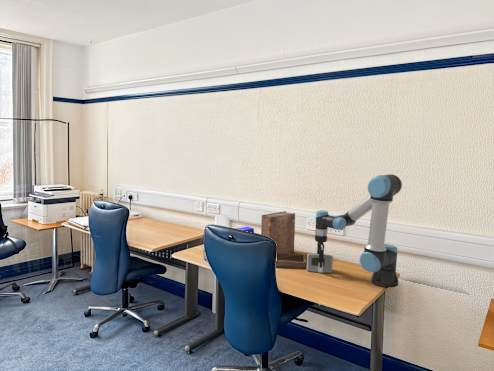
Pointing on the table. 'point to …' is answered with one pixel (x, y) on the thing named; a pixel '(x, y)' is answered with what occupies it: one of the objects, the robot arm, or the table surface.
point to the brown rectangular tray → (291, 261)
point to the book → (280, 230)
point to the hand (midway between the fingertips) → (319, 269)
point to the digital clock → (313, 263)
